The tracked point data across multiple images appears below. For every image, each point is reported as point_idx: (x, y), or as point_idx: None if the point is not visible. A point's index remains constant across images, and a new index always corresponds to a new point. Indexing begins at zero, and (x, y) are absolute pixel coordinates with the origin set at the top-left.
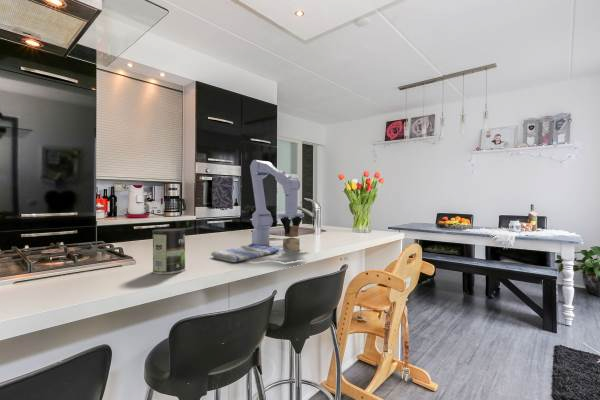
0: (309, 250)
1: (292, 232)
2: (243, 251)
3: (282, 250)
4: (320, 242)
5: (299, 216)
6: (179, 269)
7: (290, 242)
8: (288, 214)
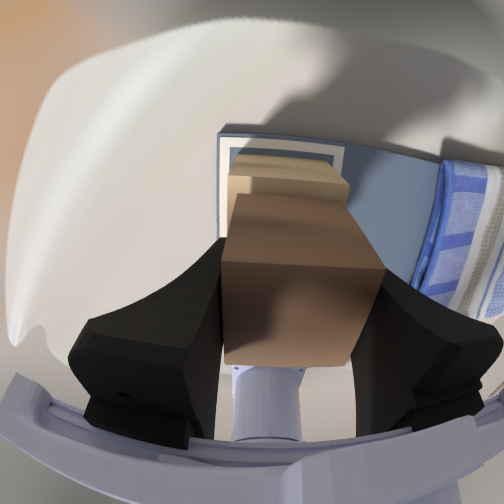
0: (172, 118)
1: (329, 220)
2: (493, 274)
3: (359, 200)
4: (18, 272)
5: (90, 425)
6: None
7: (342, 177)
8: (499, 443)
